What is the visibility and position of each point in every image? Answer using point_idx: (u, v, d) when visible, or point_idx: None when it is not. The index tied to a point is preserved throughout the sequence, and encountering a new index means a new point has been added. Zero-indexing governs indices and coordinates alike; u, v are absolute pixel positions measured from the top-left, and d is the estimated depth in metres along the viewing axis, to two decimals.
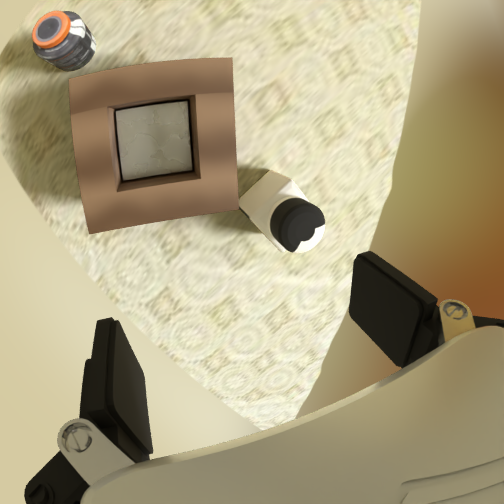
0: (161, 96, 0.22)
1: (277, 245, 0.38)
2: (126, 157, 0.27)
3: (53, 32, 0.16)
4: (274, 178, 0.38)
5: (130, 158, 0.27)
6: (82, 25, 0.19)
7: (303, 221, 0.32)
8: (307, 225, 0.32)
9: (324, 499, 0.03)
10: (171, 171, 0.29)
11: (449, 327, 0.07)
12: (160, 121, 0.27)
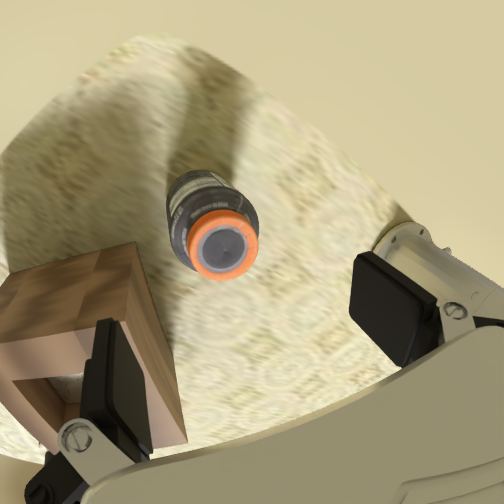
0: None
1: (41, 445, 0.24)
2: None
3: (213, 263, 0.16)
4: None
5: None
6: None
7: None
8: None
9: (324, 499, 0.03)
10: (56, 389, 0.20)
11: (449, 327, 0.07)
12: None
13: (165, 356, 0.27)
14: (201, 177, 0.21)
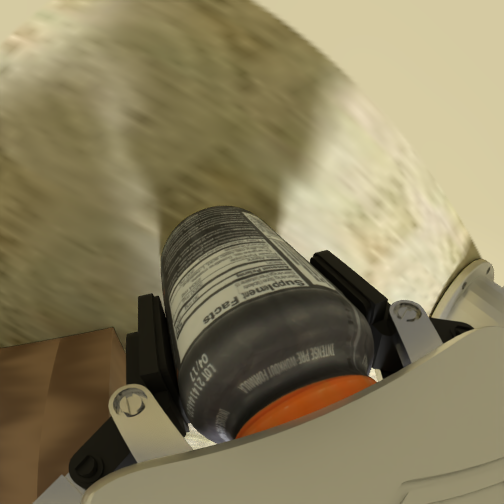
0: None
1: None
2: None
3: None
4: None
5: None
6: None
7: None
8: None
9: (324, 499, 0.03)
10: None
11: (406, 331, 0.07)
12: None
13: None
14: (237, 238, 0.10)
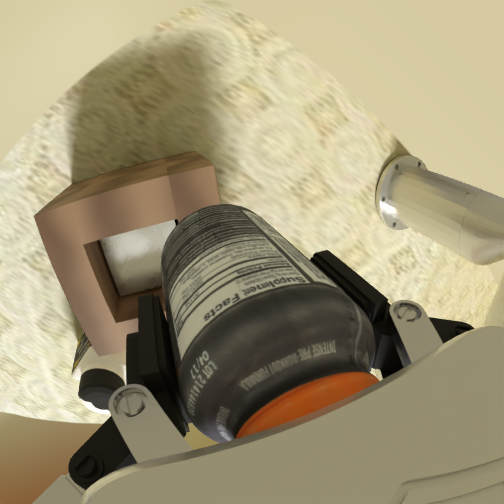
0: None
1: (75, 372, 0.31)
2: None
3: None
4: None
5: (120, 234, 0.25)
6: None
7: None
8: (107, 404, 0.28)
9: (324, 499, 0.03)
10: (114, 277, 0.27)
11: (406, 331, 0.07)
12: None
13: None
14: (237, 236, 0.10)
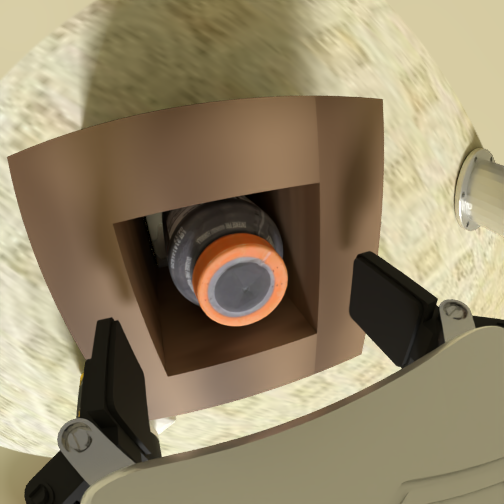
0: (321, 285, 0.14)
1: None
2: None
3: (229, 306, 0.12)
4: None
5: None
6: None
7: None
8: None
9: (324, 499, 0.03)
10: (154, 242, 0.22)
11: (449, 327, 0.07)
12: None
13: None
14: None
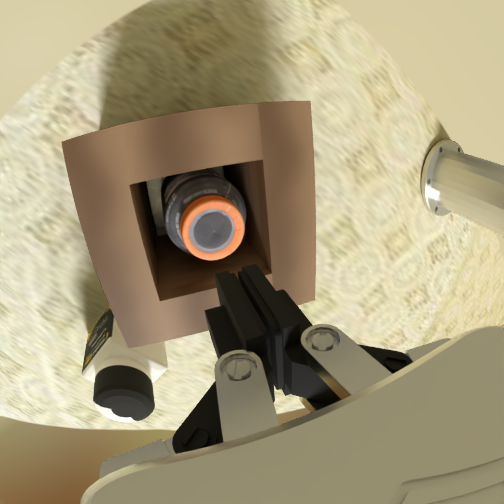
0: (270, 233, 0.20)
1: (88, 370, 0.25)
2: None
3: (203, 243, 0.18)
4: (158, 342, 0.30)
5: None
6: None
7: (134, 407, 0.23)
8: (131, 410, 0.23)
9: (324, 499, 0.03)
10: (154, 215, 0.27)
11: (331, 363, 0.07)
12: None
13: None
14: None
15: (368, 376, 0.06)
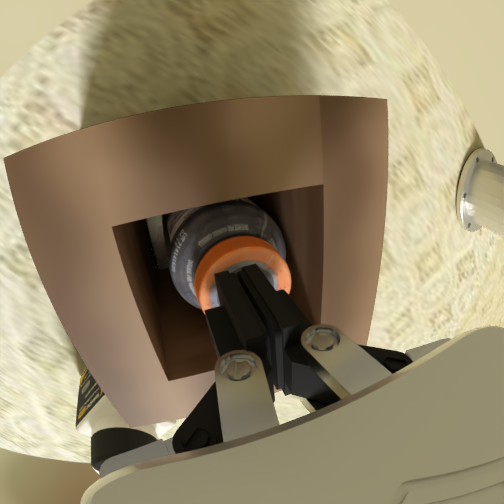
0: (324, 289, 0.13)
1: (82, 426, 0.19)
2: None
3: None
4: None
5: None
6: None
7: None
8: None
9: (324, 499, 0.03)
10: (154, 243, 0.21)
11: (331, 363, 0.07)
12: None
13: None
14: None
15: (368, 376, 0.06)
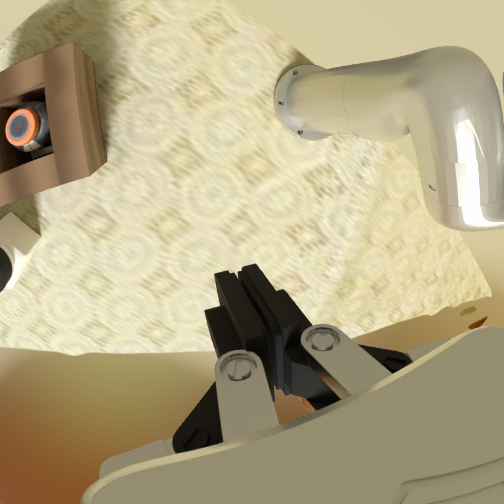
0: (50, 125, 0.22)
1: None
2: None
3: (14, 134, 0.21)
4: (29, 241, 0.33)
5: None
6: (35, 149, 0.25)
7: None
8: None
9: (324, 499, 0.03)
10: None
11: (331, 363, 0.07)
12: None
13: (96, 132, 0.31)
14: None
15: (368, 376, 0.06)
